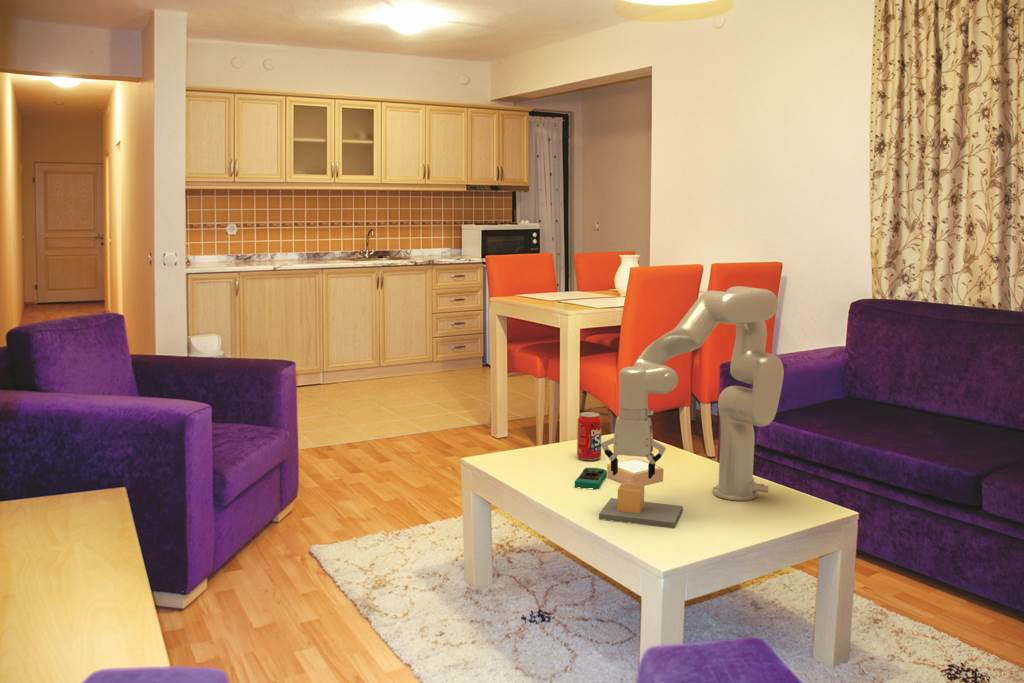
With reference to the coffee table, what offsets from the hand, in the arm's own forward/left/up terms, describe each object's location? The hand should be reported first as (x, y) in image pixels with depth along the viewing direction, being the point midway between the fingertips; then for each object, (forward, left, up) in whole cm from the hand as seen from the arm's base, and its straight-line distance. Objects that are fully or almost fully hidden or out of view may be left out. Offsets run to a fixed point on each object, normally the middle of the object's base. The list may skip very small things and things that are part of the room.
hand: (632, 475), depth 244 cm
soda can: (+24, -49, -11) cm, 55 cm away
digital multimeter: (+17, -24, -11) cm, 32 cm away
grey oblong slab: (-3, 0, -11) cm, 11 cm away
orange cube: (0, 0, -9) cm, 9 cm away
